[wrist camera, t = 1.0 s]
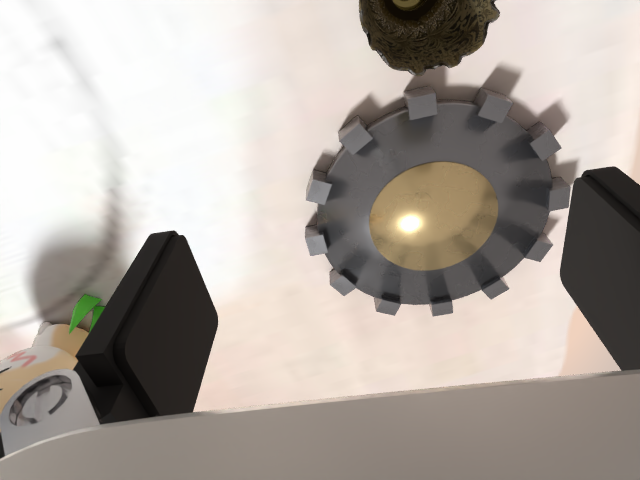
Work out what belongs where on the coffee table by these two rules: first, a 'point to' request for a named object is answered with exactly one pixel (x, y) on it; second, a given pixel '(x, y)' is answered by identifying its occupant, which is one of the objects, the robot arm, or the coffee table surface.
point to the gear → (434, 201)
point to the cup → (425, 31)
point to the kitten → (47, 350)
